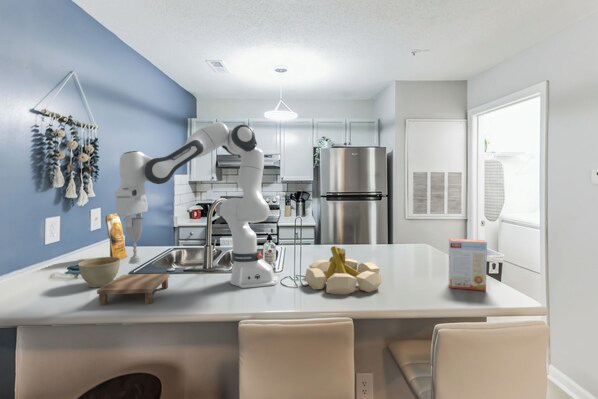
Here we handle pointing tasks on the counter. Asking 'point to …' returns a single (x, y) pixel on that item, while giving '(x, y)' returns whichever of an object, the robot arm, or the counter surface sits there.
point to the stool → (134, 286)
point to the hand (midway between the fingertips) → (134, 225)
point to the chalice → (134, 237)
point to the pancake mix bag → (115, 236)
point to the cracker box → (467, 264)
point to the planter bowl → (99, 270)
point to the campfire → (342, 274)
